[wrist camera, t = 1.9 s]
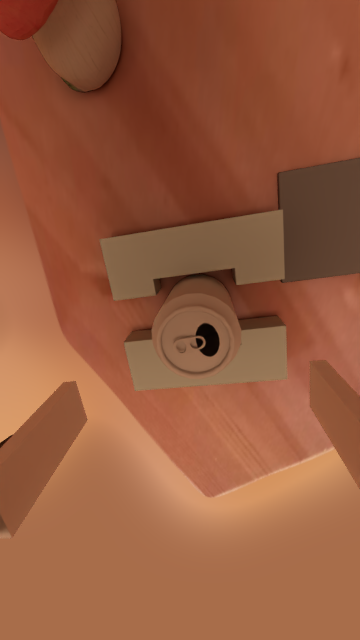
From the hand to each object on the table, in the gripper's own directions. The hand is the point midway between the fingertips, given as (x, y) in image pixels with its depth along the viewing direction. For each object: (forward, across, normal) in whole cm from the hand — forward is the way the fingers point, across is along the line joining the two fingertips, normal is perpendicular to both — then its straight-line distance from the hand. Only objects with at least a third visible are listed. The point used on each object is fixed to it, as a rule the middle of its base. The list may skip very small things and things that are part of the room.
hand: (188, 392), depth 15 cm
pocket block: (+18, 0, 0) cm, 18 cm away
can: (+18, 0, 0) cm, 18 cm away
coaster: (+18, +15, +7) cm, 24 cm away
